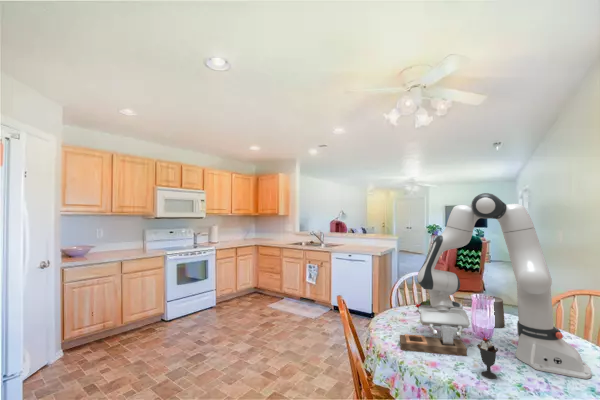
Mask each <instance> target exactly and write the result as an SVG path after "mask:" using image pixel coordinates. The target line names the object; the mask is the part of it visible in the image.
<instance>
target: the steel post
mask: <svg viewBox="0 0 600 400" xmlns="http://www.w3.org/2000/svg"><path fill="white" fill-rule="evenodd" d="M440 338H441V344H442V345H448V346H453V339H454V328H453V327H451V325H441V327H440Z"/></svg>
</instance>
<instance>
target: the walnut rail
mask: <svg viewBox="0 0 600 400" xmlns="http://www.w3.org/2000/svg"><path fill="white" fill-rule="evenodd" d="M399 343H400V348H401V351H406V352H418V353H426V354H427V353H428V354H429V353H430V354H439V355H451V356H462V357H468V348H467V347H466V345H465V344H464V342H463V341H462V340H461V339H457V338H453V346H448V345H442V344H441V337H434V336H433V337H432V336H425V335H422V334H421V335H420V334H407V333H404V334H399Z"/></svg>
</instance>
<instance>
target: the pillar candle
mask: <svg viewBox="0 0 600 400" xmlns="http://www.w3.org/2000/svg"><path fill="white" fill-rule="evenodd" d="M489 296H490V297H493V298H495V302H494V311H495V312H494V315H495V328H494V329H503V328H505V326H506V325H505V324H506V323H505V311H504V299H503V298H500V297H499V296H498V297H497V296H493V295H492V296H491V295H489Z"/></svg>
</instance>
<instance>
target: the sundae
mask: <svg viewBox="0 0 600 400" xmlns="http://www.w3.org/2000/svg"><path fill="white" fill-rule="evenodd" d="M481 334H482V335H483V336H484V337H483V338H482V340H481V341H480V342H479V343H478V344H476V346H477V349H479V353H480V358H481V361H482V362H483V364H484V365H485V366H486V370H483V371H481V372H480V374H481V376H483V377H484V378H487V379H489V380H495V379H497V378H498V376H497V374H496V373H494V372H492V370H491V369H492V368H491V367H492V366H494V365H495V364H496V356H497V352H498V351H499V348H497V347H496V346H495V345H494V344H493V343H492V341H491V340H489V339H487V338H486V335H485V333H484V332H483V331H481Z"/></svg>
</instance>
